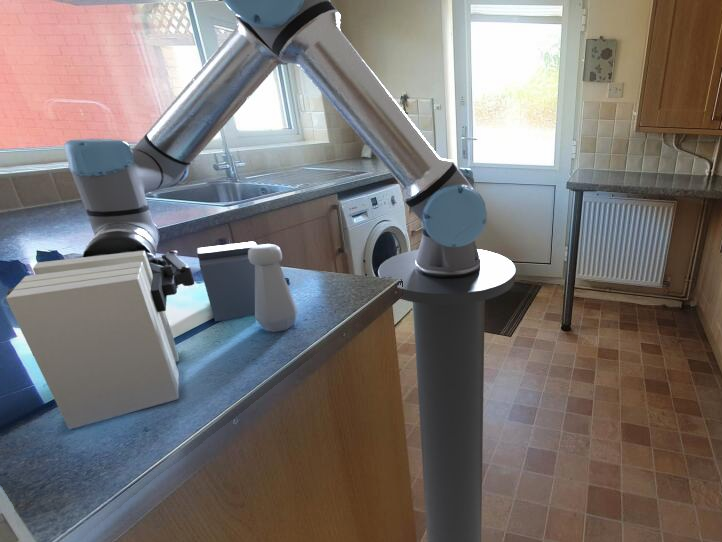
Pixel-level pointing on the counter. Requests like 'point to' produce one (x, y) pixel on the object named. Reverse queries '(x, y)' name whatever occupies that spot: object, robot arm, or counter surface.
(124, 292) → the white books
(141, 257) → the white book
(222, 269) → the grey upright block
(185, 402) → the counter surface
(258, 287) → the salt shaker
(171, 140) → the robot arm
